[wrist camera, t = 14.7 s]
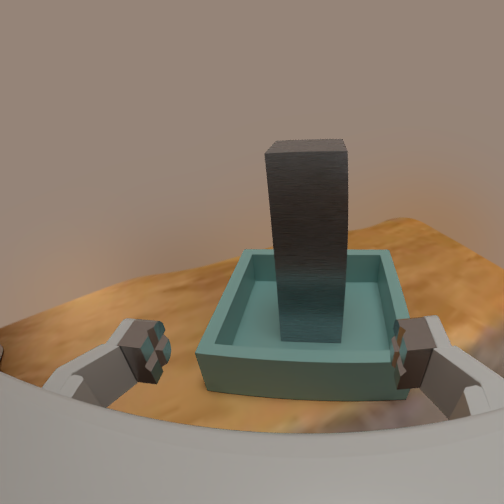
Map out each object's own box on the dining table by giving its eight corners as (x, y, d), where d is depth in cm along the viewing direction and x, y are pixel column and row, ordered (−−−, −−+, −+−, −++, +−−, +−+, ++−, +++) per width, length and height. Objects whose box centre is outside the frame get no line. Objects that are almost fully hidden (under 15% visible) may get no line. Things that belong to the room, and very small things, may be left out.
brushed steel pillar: (280, 341, 24) (264, 153, 17) (288, 304, 28) (276, 140, 21) (341, 343, 23) (347, 151, 16) (340, 306, 27) (342, 139, 20)
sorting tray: (207, 390, 21) (194, 352, 19) (248, 283, 33) (244, 249, 31) (405, 399, 18) (420, 360, 16) (384, 285, 30) (388, 249, 28)
